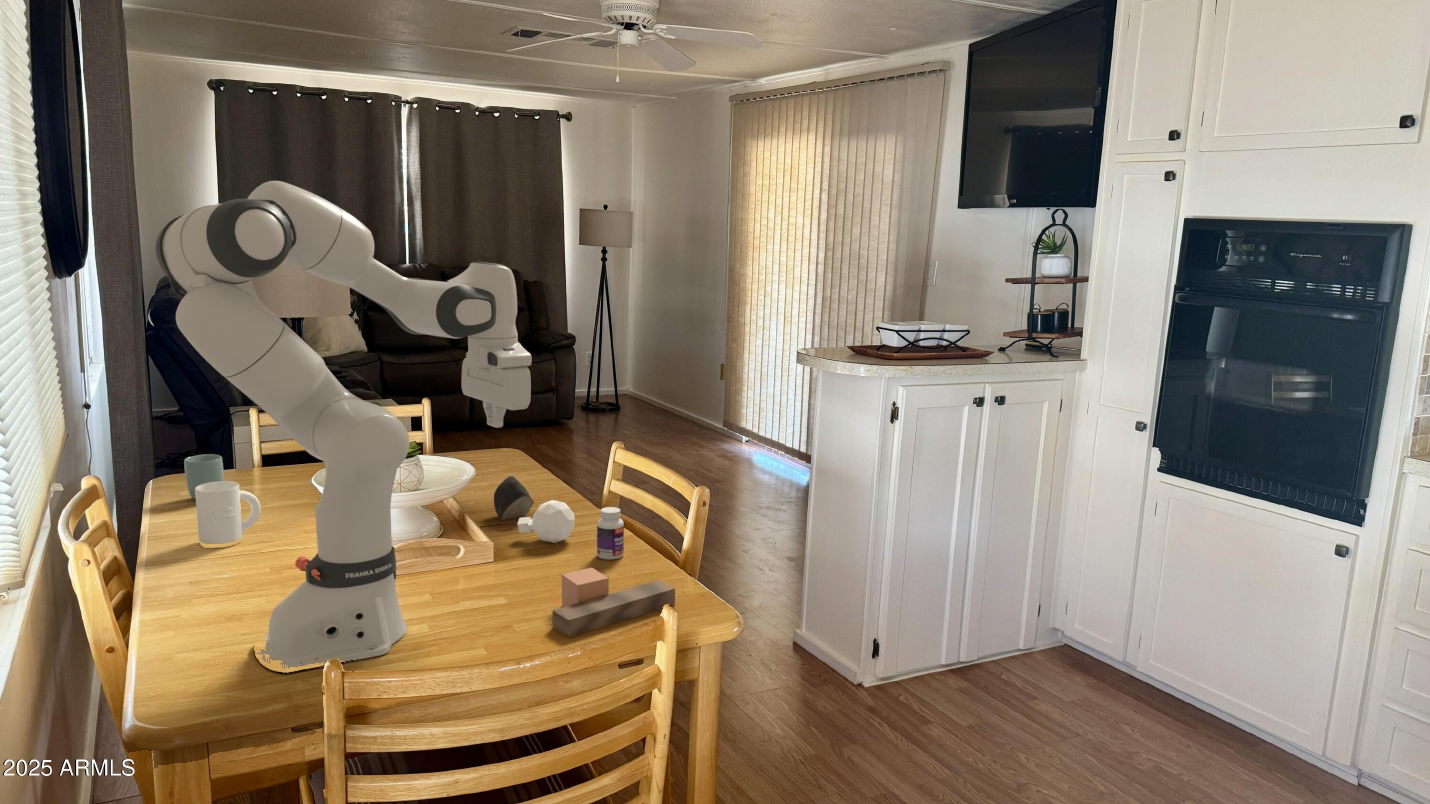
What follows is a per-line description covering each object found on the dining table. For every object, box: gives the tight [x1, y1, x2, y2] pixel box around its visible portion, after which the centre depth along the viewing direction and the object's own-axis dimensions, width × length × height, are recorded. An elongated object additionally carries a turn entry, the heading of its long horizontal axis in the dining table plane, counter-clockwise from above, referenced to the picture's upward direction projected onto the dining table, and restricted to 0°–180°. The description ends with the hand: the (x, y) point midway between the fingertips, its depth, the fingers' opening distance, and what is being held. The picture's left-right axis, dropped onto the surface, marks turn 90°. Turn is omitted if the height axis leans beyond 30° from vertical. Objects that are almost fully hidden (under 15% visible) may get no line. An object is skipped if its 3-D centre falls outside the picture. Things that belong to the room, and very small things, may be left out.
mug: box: [195, 480, 261, 544], centre depth 193 cm, size 8×12×12 cm
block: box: [561, 567, 610, 607], centre depth 163 cm, size 6×6×6 cm
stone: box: [493, 475, 535, 521], centre depth 212 cm, size 8×8×10 cm
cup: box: [183, 453, 225, 500], centre depth 221 cm, size 8×8×10 cm
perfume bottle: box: [517, 499, 576, 544], centre depth 197 cm, size 9×9×12 cm
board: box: [552, 579, 676, 638], centre depth 160 cm, size 22×5×3 cm, turn 131°
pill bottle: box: [596, 506, 625, 561], centre depth 189 cm, size 5×5×10 cm
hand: (495, 426), depth 172 cm, fingers closed
